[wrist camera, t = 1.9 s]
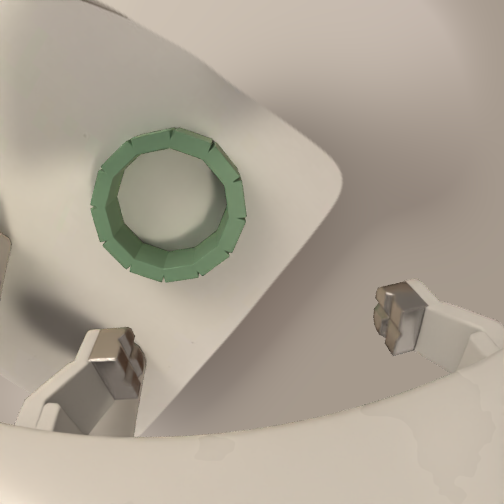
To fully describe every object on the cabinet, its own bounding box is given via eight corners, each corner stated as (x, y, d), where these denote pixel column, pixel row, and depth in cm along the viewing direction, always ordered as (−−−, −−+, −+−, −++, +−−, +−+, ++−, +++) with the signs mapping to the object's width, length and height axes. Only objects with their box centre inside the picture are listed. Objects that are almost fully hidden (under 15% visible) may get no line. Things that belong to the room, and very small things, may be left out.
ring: (180, 99, 20) (175, 98, 17) (269, 208, 24) (276, 222, 22) (80, 194, 22) (65, 205, 19) (168, 285, 26) (163, 305, 24)
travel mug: (111, 321, 28) (55, 519, 10) (158, 361, 30) (140, 548, 12) (78, 347, 29) (23, 515, 11) (122, 382, 31) (95, 544, 13)
